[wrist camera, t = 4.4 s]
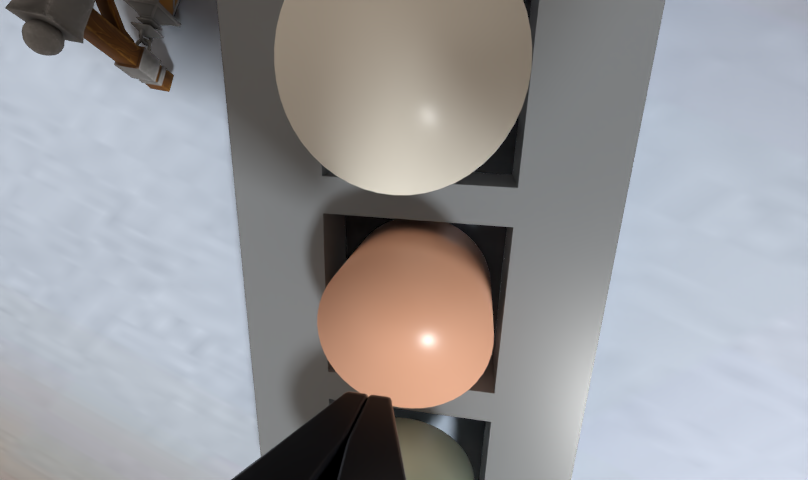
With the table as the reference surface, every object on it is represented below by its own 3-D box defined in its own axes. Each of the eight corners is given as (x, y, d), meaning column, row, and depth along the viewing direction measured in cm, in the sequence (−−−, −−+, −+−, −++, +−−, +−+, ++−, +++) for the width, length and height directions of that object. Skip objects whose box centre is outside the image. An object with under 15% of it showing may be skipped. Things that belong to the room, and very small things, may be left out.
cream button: (528, -34, 9) (549, -94, 6) (506, 174, 10) (515, 203, 8) (327, -31, 10) (264, -84, 7) (332, 165, 11) (281, 188, 8)
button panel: (649, -75, 10) (687, -114, 8) (542, 524, 16) (550, 580, 14) (251, -64, 12) (207, -95, 10) (290, 480, 18) (267, 525, 16)
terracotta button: (498, 221, 12) (503, 258, 10) (484, 353, 14) (485, 419, 11) (349, 210, 13) (313, 242, 10) (351, 338, 14) (320, 396, 12)
